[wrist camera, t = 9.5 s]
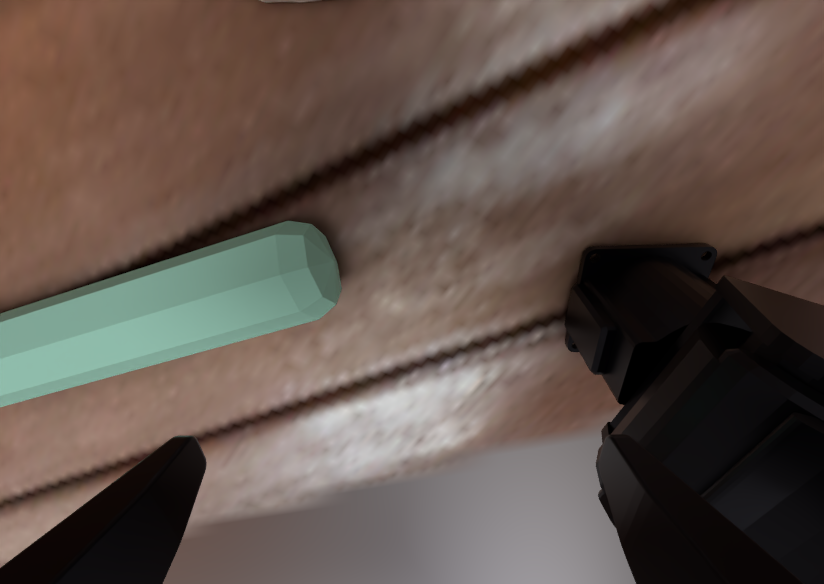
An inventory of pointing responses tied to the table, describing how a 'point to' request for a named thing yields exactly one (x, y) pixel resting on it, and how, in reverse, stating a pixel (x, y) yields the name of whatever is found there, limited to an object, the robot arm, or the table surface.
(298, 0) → the white round dish
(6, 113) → the table surface
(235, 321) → the mint green faceted bar
